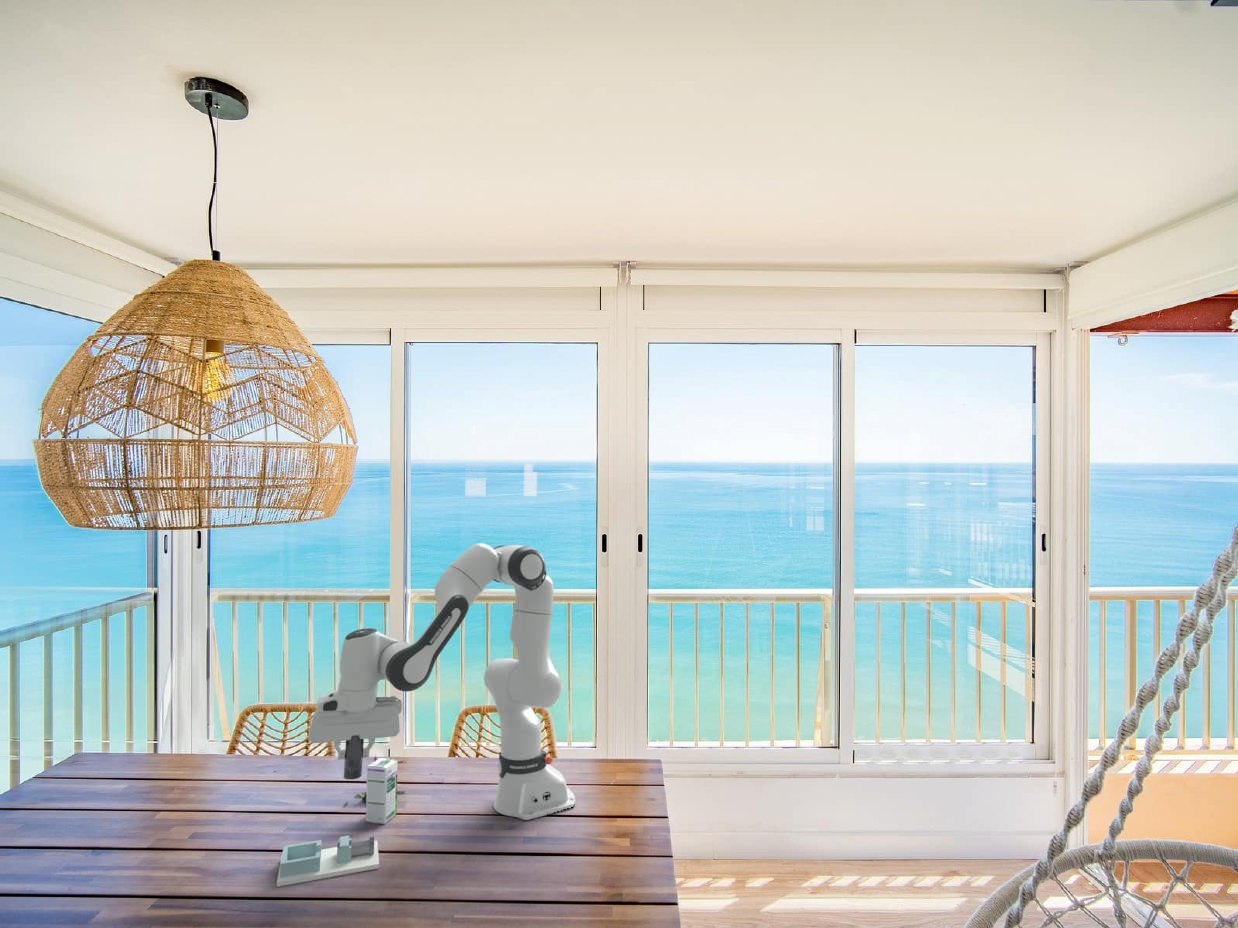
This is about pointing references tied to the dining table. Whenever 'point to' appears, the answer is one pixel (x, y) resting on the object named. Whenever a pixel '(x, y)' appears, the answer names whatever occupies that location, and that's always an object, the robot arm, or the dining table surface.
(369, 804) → the syrup box
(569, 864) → the dining table surface
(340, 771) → the dining table surface
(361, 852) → the pin
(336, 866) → the dock
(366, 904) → the dining table surface
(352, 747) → the dark grey gold-tipped cylinder
